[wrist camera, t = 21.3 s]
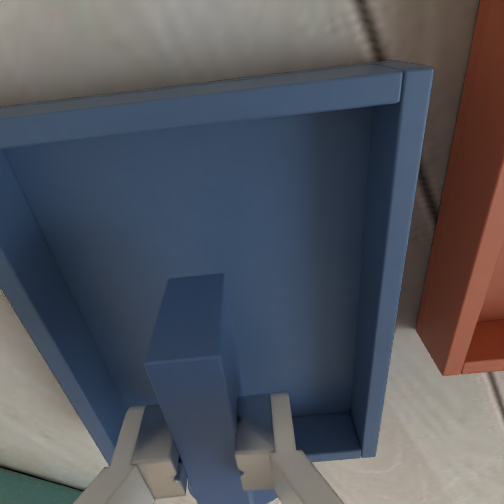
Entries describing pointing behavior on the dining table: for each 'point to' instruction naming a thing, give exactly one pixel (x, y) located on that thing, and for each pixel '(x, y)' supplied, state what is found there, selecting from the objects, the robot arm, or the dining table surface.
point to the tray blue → (220, 235)
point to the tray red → (471, 219)
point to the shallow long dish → (33, 490)
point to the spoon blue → (201, 386)
